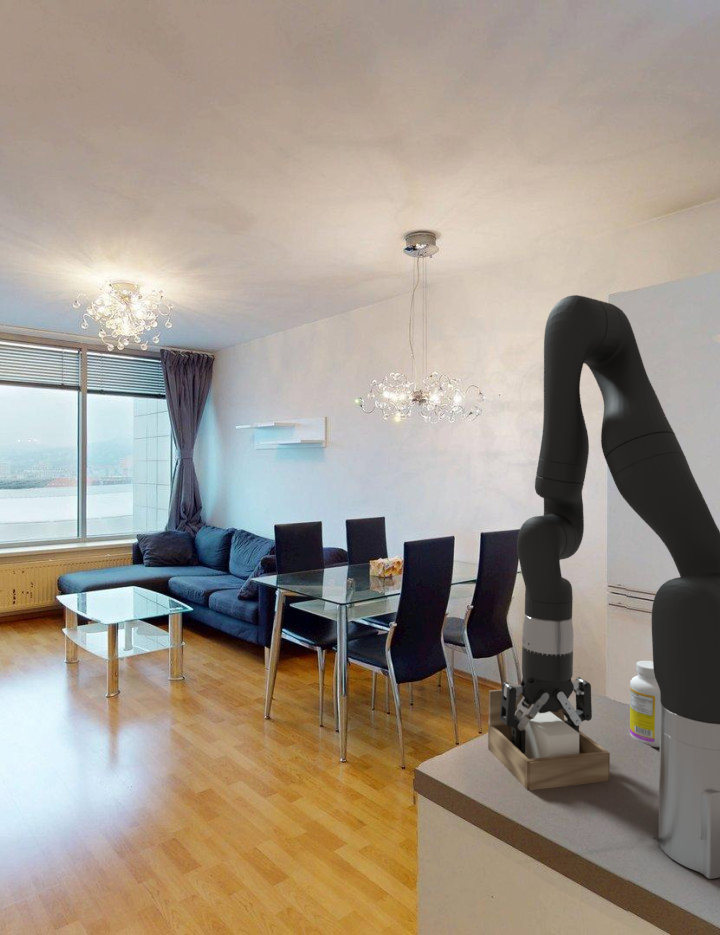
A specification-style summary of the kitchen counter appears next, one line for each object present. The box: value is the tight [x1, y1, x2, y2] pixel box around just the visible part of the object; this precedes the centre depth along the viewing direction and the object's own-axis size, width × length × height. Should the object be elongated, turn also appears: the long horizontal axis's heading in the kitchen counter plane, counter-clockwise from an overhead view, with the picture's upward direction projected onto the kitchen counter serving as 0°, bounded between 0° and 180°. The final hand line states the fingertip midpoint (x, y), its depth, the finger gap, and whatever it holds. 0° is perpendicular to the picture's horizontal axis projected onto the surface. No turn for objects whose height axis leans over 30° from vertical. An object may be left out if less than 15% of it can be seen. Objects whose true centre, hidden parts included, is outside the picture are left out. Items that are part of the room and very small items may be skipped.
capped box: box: [524, 711, 579, 759], centre depth 95 cm, size 10×5×6 cm, turn 13°
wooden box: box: [487, 688, 611, 791], centre depth 95 cm, size 13×13×10 cm
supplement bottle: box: [629, 660, 660, 748], centre depth 105 cm, size 7×7×13 cm
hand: (545, 749), depth 96 cm, fingers open, 8 cm apart
